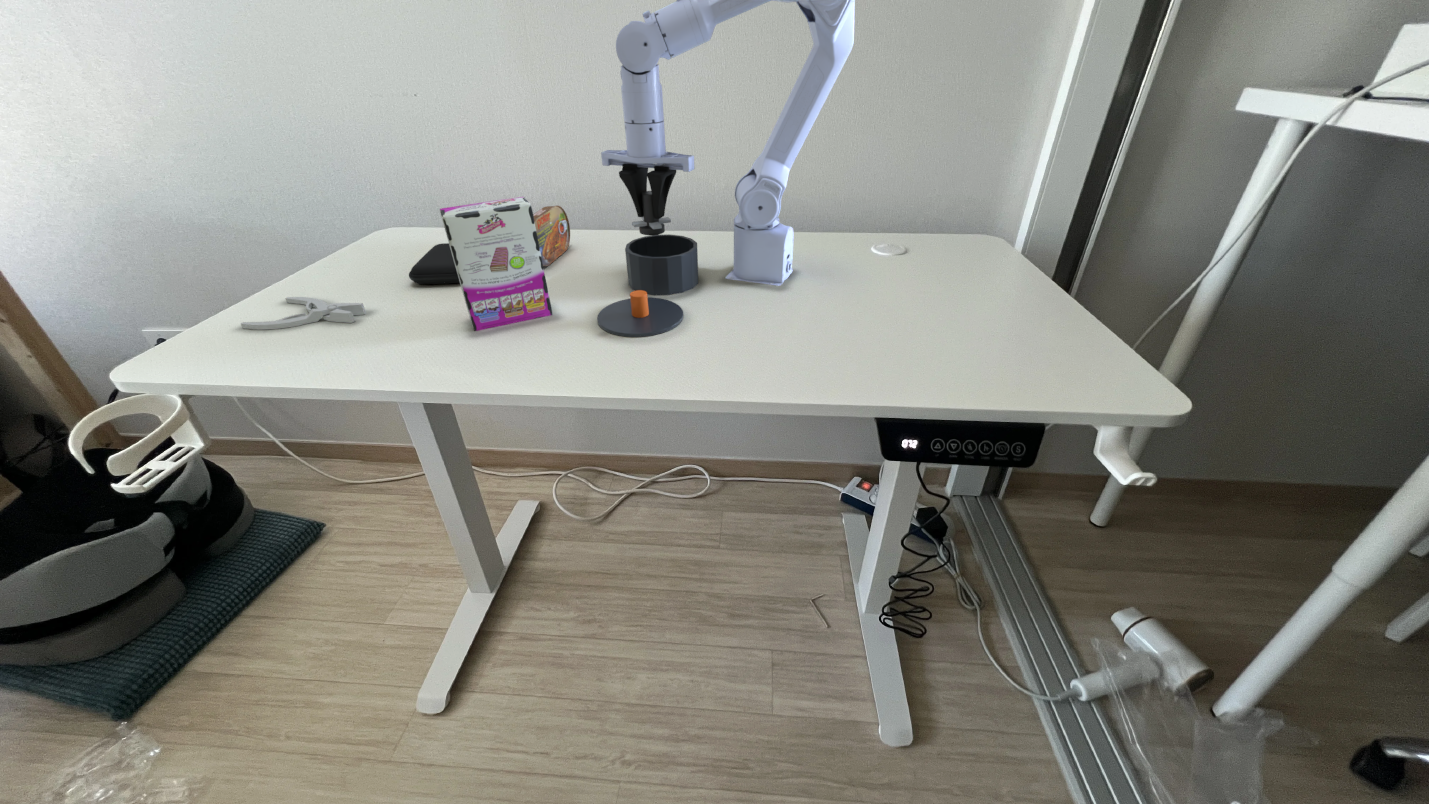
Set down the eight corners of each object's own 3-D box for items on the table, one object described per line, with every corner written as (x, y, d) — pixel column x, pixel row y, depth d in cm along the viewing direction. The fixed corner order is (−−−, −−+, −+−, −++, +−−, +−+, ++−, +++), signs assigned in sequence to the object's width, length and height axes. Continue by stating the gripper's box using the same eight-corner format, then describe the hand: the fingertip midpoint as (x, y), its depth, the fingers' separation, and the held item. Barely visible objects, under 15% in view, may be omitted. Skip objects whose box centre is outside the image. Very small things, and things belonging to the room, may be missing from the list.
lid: (696, 310, 87) (695, 283, 85) (660, 347, 78) (658, 317, 75) (624, 299, 91) (621, 272, 88) (581, 332, 81) (577, 304, 79)
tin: (539, 273, 100) (530, 224, 96) (522, 272, 101) (512, 223, 96) (574, 245, 113) (567, 200, 108) (558, 244, 113) (551, 199, 109)
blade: (673, 228, 94) (671, 189, 91) (659, 238, 90) (656, 198, 87) (645, 225, 96) (642, 187, 93) (630, 234, 92) (626, 195, 89)
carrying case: (474, 286, 96) (496, 255, 108) (469, 268, 94) (492, 239, 107) (407, 288, 96) (437, 257, 108) (402, 270, 94) (433, 240, 106)
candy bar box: (545, 306, 89) (524, 195, 80) (554, 318, 85) (533, 203, 76) (468, 321, 85) (437, 206, 76) (474, 335, 81) (442, 215, 72)
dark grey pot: (708, 276, 98) (707, 238, 94) (681, 302, 89) (679, 261, 86) (648, 268, 102) (645, 231, 98) (616, 293, 93) (612, 253, 89)
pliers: (286, 291, 91) (376, 294, 90) (290, 300, 92) (379, 304, 91) (236, 318, 83) (334, 322, 81) (241, 328, 84) (338, 332, 82)
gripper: (701, 119, 85) (703, 213, 93) (614, 115, 90) (623, 205, 97) (681, 126, 80) (685, 226, 87) (589, 122, 84) (601, 217, 92)
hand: (651, 216), depth 92 cm, fingers closed on blade, 2 cm apart
